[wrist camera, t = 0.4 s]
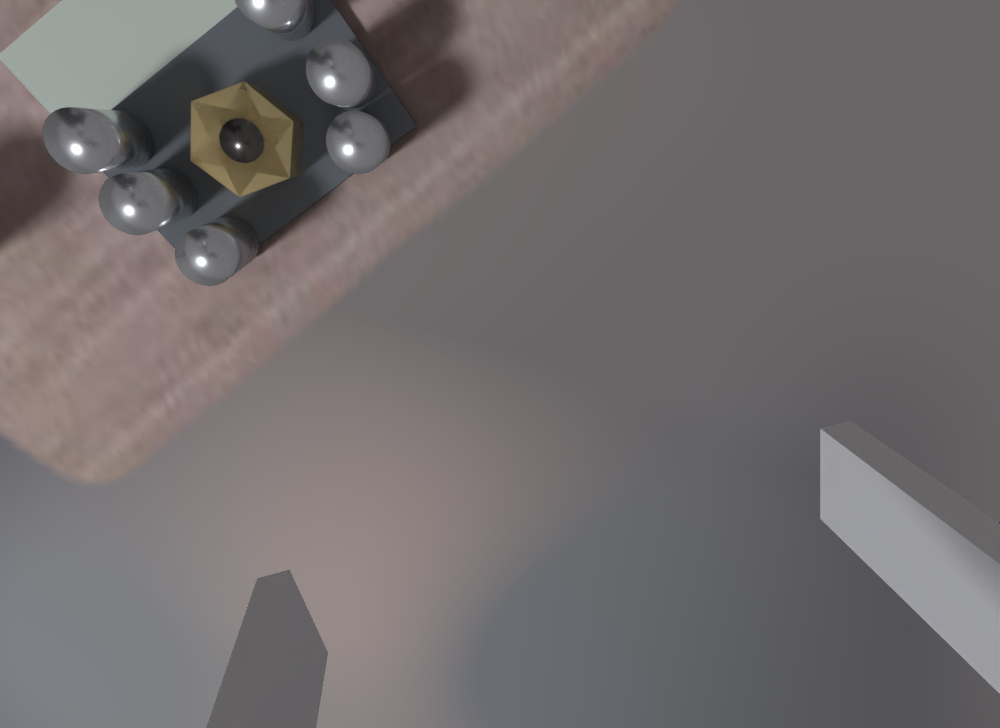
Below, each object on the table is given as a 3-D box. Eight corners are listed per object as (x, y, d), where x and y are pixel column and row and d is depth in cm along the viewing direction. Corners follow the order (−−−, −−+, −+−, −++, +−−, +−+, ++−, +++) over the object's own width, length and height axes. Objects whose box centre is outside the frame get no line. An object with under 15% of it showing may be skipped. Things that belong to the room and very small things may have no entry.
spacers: (80, 134, 33) (25, 134, 28) (297, -42, 31) (276, -73, 27) (219, 285, 37) (190, 307, 32) (419, 135, 35) (418, 135, 30)
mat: (2, 57, 32) (-5, 55, 31) (234, -141, 30) (231, -145, 29) (210, 281, 37) (207, 283, 37) (416, 125, 35) (416, 125, 35)
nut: (185, 140, 34) (164, 141, 31) (235, 66, 33) (217, 60, 30) (275, 208, 36) (263, 214, 33) (325, 139, 35) (316, 140, 32)
